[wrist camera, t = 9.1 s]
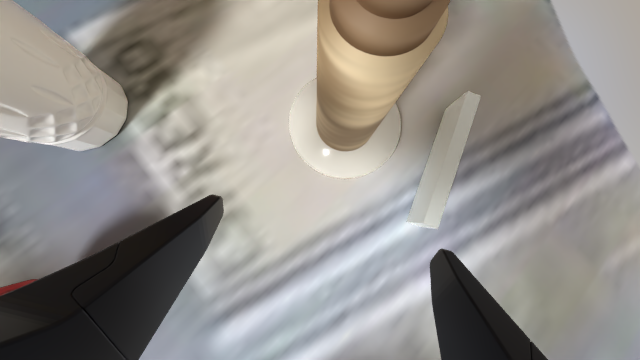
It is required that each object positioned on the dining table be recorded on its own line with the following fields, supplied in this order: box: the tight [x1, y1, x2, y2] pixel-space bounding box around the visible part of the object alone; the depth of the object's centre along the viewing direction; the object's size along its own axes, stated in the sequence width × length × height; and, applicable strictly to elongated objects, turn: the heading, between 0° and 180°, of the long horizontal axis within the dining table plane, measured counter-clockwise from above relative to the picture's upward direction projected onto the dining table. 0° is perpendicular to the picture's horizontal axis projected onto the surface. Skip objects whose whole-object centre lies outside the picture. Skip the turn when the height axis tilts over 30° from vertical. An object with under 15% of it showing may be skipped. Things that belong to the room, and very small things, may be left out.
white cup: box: [0, 0, 128, 151], centre depth 15 cm, size 8×8×10 cm
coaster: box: [289, 78, 401, 179], centre depth 20 cm, size 9×9×1 cm
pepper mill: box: [316, 0, 450, 151], centre depth 12 cm, size 5×5×14 cm
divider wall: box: [406, 91, 481, 229], centre depth 18 cm, size 10×1×3 cm, turn 158°
